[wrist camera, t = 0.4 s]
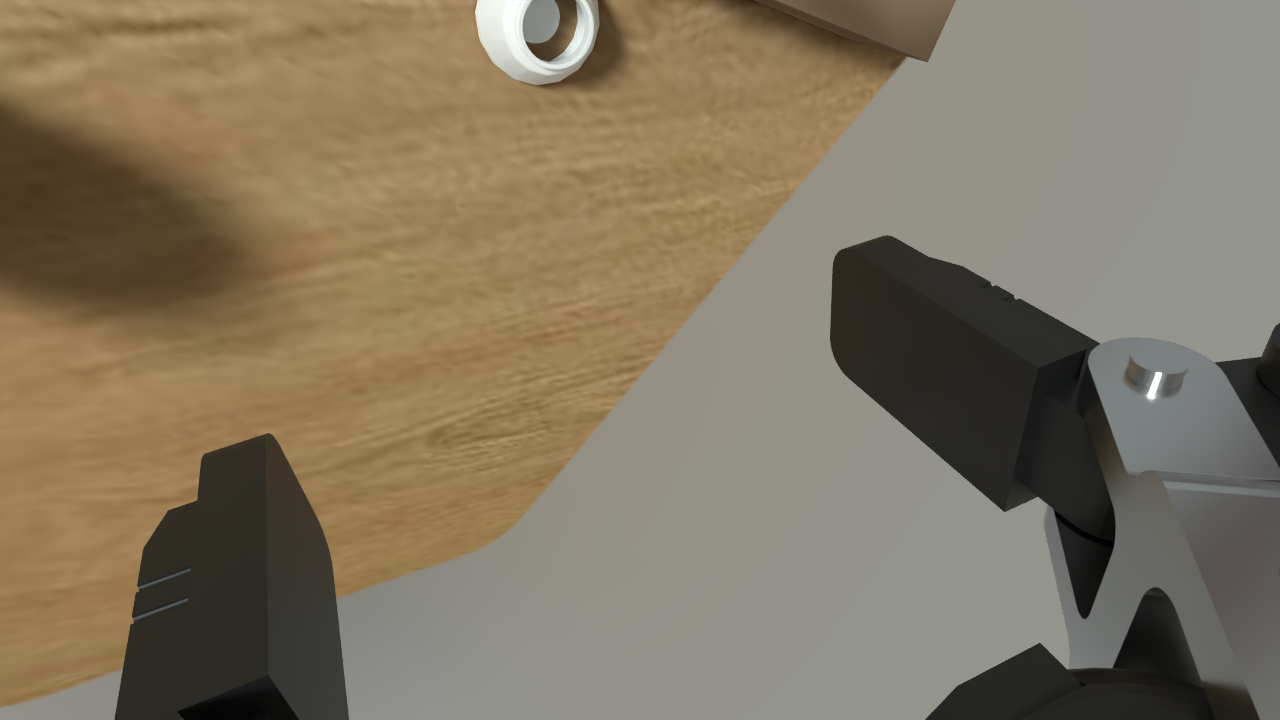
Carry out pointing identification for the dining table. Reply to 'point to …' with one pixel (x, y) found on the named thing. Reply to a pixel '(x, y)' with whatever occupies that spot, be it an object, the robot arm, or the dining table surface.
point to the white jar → (534, 37)
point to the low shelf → (876, 21)
